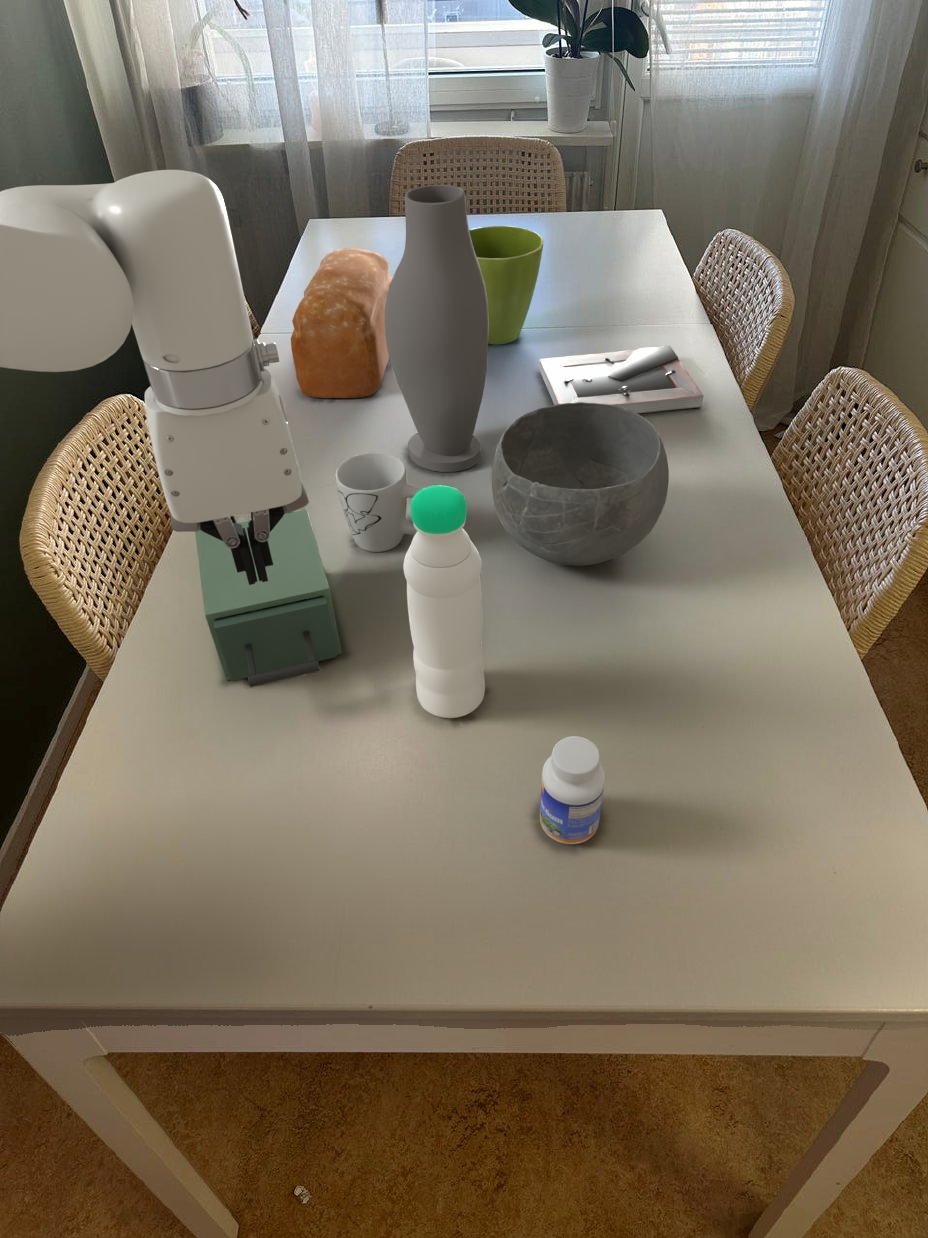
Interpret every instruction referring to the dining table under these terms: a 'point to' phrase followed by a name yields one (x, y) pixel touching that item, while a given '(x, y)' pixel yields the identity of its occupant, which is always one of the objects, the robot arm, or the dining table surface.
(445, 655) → the water bottle
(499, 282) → the flower pot
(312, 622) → the drawer
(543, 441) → the bowl
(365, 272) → the bread
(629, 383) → the picture frame
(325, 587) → the cabinet
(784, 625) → the dining table surface
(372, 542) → the mug
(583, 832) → the pill bottle
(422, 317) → the vase
